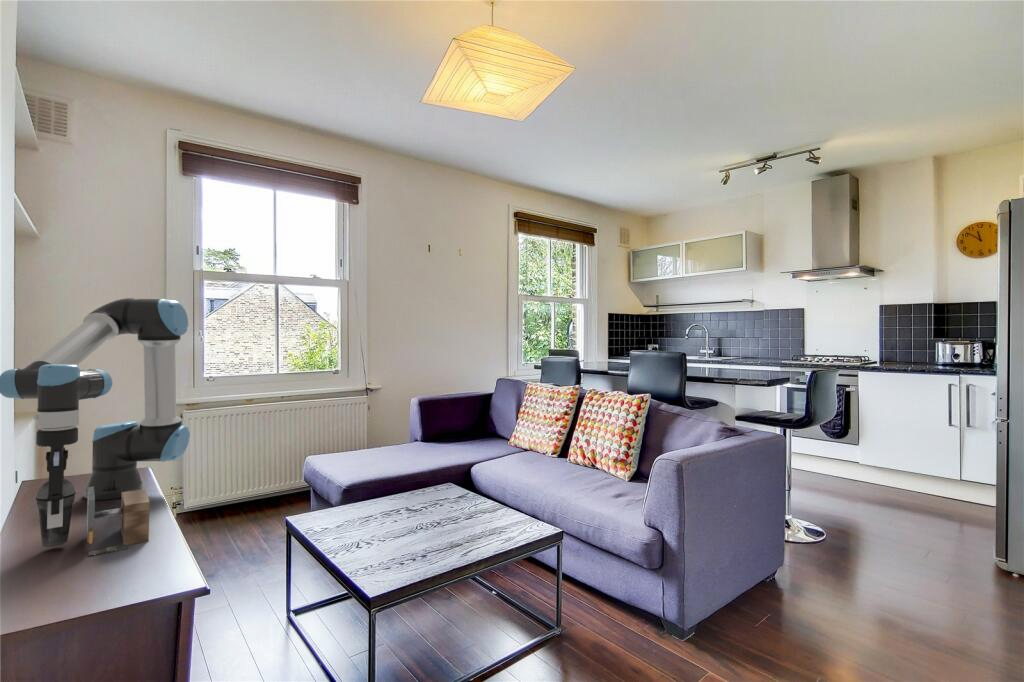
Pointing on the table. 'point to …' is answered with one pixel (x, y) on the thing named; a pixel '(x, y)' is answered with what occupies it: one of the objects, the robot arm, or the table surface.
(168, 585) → the table surface
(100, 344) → the robot arm
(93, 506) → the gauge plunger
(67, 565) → the table surface
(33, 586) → the table surface
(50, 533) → the beverage cup
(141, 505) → the brown boxy piece
